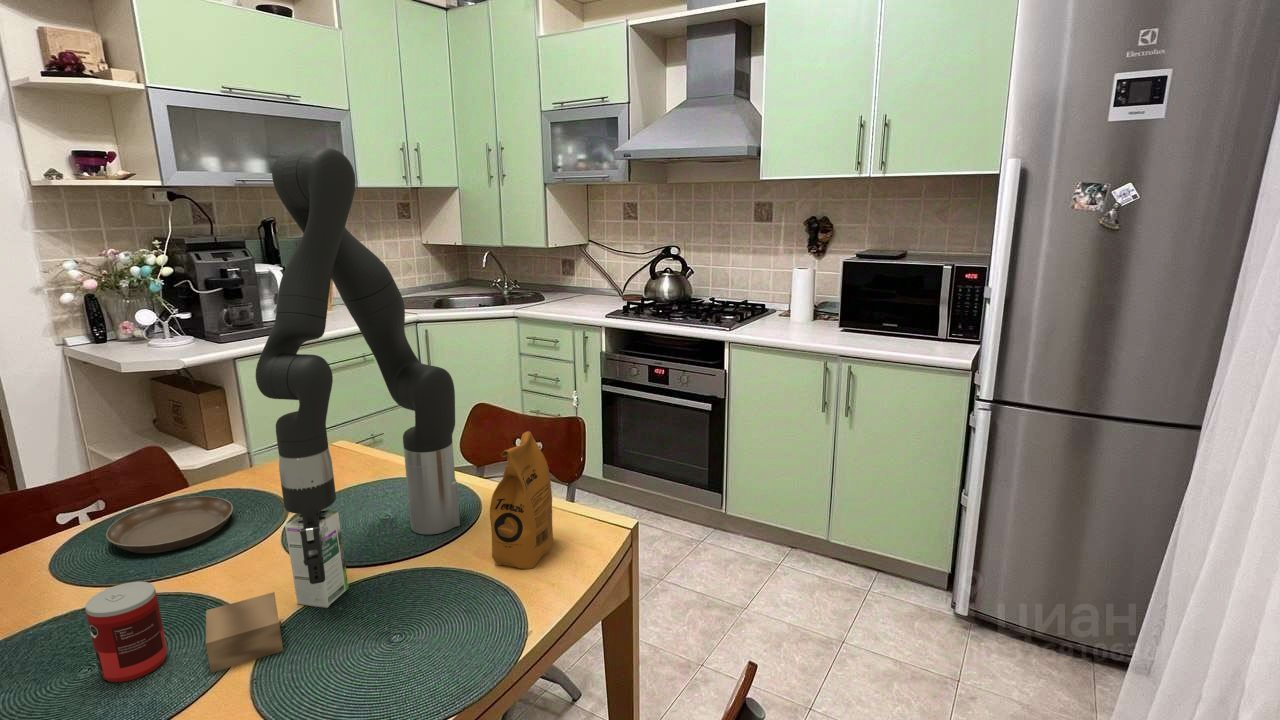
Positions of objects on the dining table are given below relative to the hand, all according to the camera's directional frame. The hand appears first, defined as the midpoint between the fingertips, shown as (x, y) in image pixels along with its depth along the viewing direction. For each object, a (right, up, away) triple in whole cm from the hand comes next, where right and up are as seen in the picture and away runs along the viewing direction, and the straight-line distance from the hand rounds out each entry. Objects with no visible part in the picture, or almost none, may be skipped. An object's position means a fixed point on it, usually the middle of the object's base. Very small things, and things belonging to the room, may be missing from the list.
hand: (319, 568), depth 110 cm
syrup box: (0, -5, +1) cm, 5 cm away
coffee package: (+31, -2, +15) cm, 34 cm away
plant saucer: (-40, 0, +23) cm, 46 cm away
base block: (-6, -8, -11) cm, 14 cm away
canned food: (-19, -9, -15) cm, 26 cm away
